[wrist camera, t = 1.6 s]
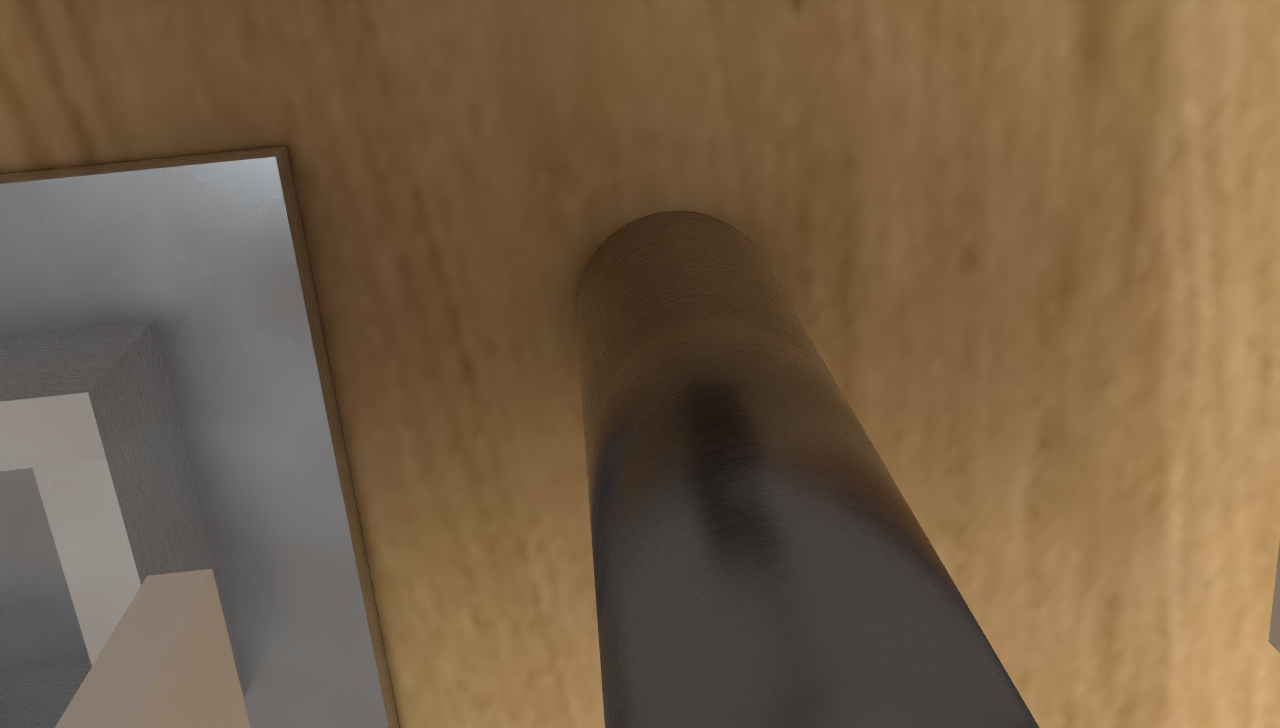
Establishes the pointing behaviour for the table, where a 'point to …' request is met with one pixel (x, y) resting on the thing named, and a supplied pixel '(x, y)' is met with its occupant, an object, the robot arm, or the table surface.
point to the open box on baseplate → (175, 435)
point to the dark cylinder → (752, 513)
